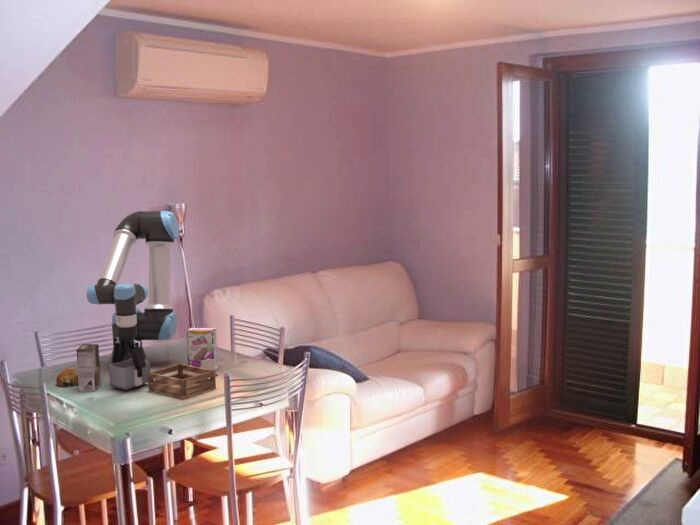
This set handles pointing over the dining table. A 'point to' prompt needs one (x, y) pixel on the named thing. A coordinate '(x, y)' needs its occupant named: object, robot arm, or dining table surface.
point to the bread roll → (68, 377)
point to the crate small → (126, 374)
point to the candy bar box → (201, 345)
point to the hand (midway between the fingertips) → (130, 383)
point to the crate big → (181, 381)
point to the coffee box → (88, 367)
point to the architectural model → (208, 364)
